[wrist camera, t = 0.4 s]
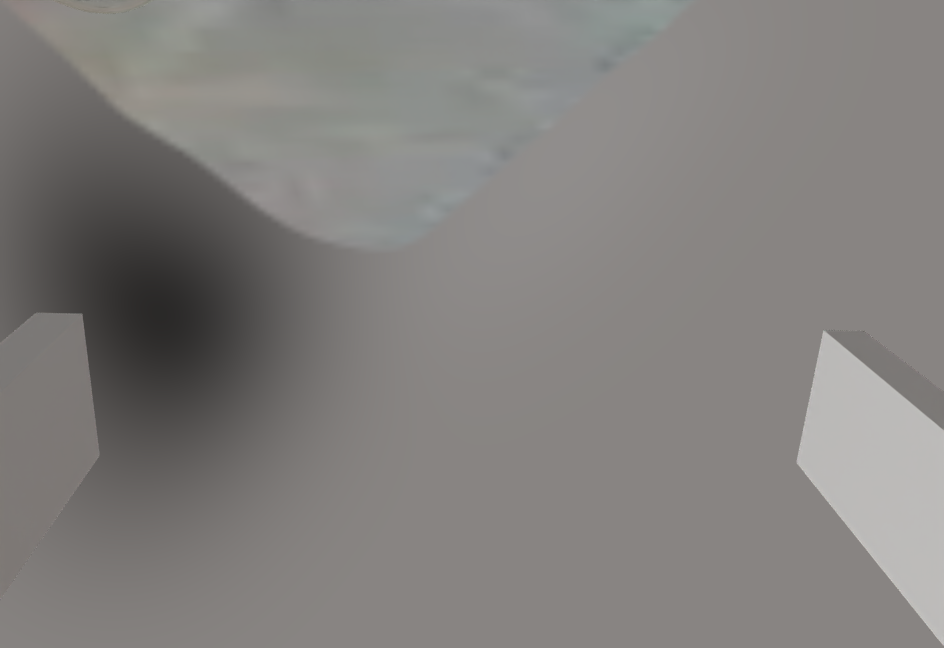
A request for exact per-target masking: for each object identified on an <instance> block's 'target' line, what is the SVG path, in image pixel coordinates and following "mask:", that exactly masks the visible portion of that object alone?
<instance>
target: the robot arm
mask: <svg viewBox="0 0 944 648" xmlns="http://www.w3.org/2000/svg"><path fill="white" fill-rule="evenodd" d="M98 457H99V447H98V440H97V432H96V423H95V415H94V407H93V399H92V390H91V382H90V376H89V366H88V358H87V350H86V342H85V333H84V326H83V318H82V314H63V313H35V314H34V315H33V316H32V317H30V318H29V319H28V320H27V321H26V322H25V323H23V324H22V325H21V326H20V327H19V328H17V329H16V330H15V331H14V332H13V333H11V334H10V335H9V336H8V337H7V338H6V339H4V340H3V341H2V342H1V343H0V599H1V598H2V597H3V595H4V593H5V592H6V591H7V589H8V588H9V586H10V585H11V583H12V582H13V580H14V579H15V578H16V576H17V575H18V573H19V572H20V570H21V569H22V567H23V566H24V564H25V563H26V562H27V560H28V559H29V557H30V556H31V554H32V553H33V551H34V550H35V548H36V547H37V546H38V544H39V543H40V541H41V540H42V538H43V537H44V535H45V534H46V532H47V531H48V530H49V528H50V527H51V525H52V523H53V522H54V521H55V519H56V518H57V516H58V515H59V513H60V512H61V511H62V509H63V508H64V506H65V505H66V503H67V502H68V500H69V499H70V497H71V496H72V494H73V493H74V492H75V490H76V489H77V487H78V486H79V484H80V483H81V481H82V480H83V479H84V477H85V476H86V474H87V473H88V471H89V470H90V468H91V467H92V465H93V464H94V462H95V461H96V459H97V458H98ZM797 464H798V465H799V466H800V468H801V469H802V470H803V471H804V473H805V474H806V475H807V476H808V478H809V479H810V480H811V481H812V483H813V484H814V485H815V486H816V488H817V489H818V490H819V491H820V493H821V494H822V495H823V496H824V497H825V499H826V500H827V501H828V503H829V504H830V505H831V506H832V507H833V509H834V510H835V511H836V512H837V514H838V515H839V516H840V517H841V519H842V520H843V521H844V522H845V523H846V525H847V526H848V527H849V528H850V529H851V531H852V532H853V534H855V536H856V537H857V539H858V540H859V541H860V542H861V544H862V545H863V546H864V547H865V549H866V550H867V551H868V552H869V553H870V555H871V556H872V557H873V559H874V560H875V561H876V562H877V564H878V565H879V566H880V567H881V568H882V570H883V571H884V572H885V573H886V575H887V576H888V577H889V578H890V580H891V581H892V582H893V583H894V584H895V586H896V587H897V588H898V590H899V591H900V592H901V593H902V595H903V596H904V597H905V598H906V599H907V601H908V602H909V603H910V605H911V606H912V607H913V608H914V610H915V611H916V612H917V613H918V614H919V616H920V617H921V618H922V620H923V621H924V622H925V623H926V624H927V626H928V627H929V628H930V630H931V631H932V632H933V633H934V635H935V636H936V637H937V638H938V639H939V641H940V642H941V643H942V644H943V646H944V391H942V390H941V389H940V388H938V387H937V386H936V385H934V384H933V383H932V382H931V381H929V380H928V379H927V378H925V377H924V376H923V375H921V374H920V373H919V372H917V371H916V370H915V369H914V368H912V367H911V366H909V365H908V364H907V363H906V362H904V361H903V360H902V359H900V358H899V357H898V356H896V355H895V354H894V353H892V352H891V351H889V350H888V349H887V348H886V347H885V346H883V345H882V344H881V343H879V342H878V341H877V340H875V339H874V338H873V337H871V336H870V335H869V334H868V333H866V332H865V331H843V330H842V331H841V330H840V331H839V330H824V331H823V336H822V341H821V346H820V350H819V356H818V361H817V365H816V370H815V375H814V380H813V385H812V390H811V394H810V400H809V404H808V409H807V414H806V419H805V424H804V429H803V434H802V438H801V443H800V448H799V453H798V458H797Z"/></svg>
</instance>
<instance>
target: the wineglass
mask: <svg viewBox="0 0 944 648" xmlns="http://www.w3.org/2000/svg"><path fill="white" fill-rule="evenodd" d="M53 1H55V2H57V3H59V4H62V5H65V6H67V7H70V8H74V9H77V10H81V11H84V12H89V13H102V14H116V13H124V12H129V11H133V10H135V9H138V8H141V7H143V6H145V5H147V4H149V3H150V2H152V1H154V0H53Z"/></svg>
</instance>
